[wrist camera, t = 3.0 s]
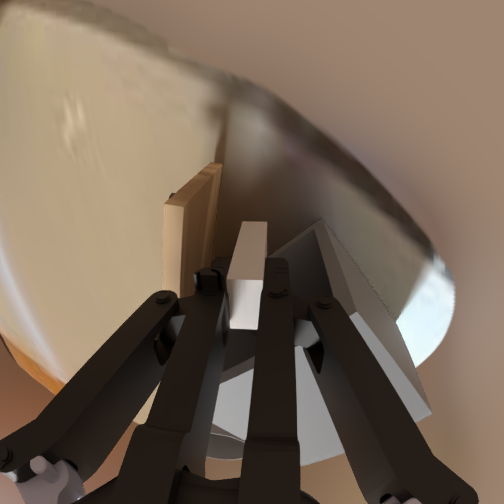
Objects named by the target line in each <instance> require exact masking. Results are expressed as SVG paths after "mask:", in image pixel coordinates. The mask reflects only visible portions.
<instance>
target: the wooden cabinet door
mask: <svg viewBox="0 0 504 504" xmlns="http://www.w3.org/2000/svg"><path fill="white" fill-rule="evenodd" d="M222 168H223V164H219V163H212V162H211V163H210V164H208V165H207V166H206V167H205V168H204V169H203V170H201V171H200V172H199V173H198V174H197V175H196V176H194V177H193V178H192V179H191V180H190V181H189V182H188V183H186V184H185V185H184V186H183V187H182V188H181V189H180V190H179V191H177V192H176V193H172V194H171V195H170V197H169V200H168V201H166V202H165V203H164V210H163V241H162V290H171V291H173V292H175V293H176V294H177V296H178V298H183V297H188V296H192V295H194V293H195V291H196V290H195V283H194V276H193V274H194V273H195V272H196V271H198V270H199V269H202V268H207V267H210V266H211V260H212V250H213V241H214V232H215V223H216V215H217V207H218V198H219V191H220V183H221V175H222Z"/></svg>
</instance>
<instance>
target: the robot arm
mask: <svg viewBox="0 0 504 504" xmlns="http://www.w3.org/2000/svg"><path fill="white" fill-rule="evenodd" d="M193 276H194V283H195V290H196V291H195V293H194V295H192V296H188V297H183V298H178V296H177V294H176V293H175V292H173V291H171V290H161V291H158V292H155V293H154V294H152V295H151V296H150V297H149V298H148V299H147V300H146V301H145V302H144V303H143V304H142V305H141V306H140V307H139V308H138V309H137V310H136V311H135V312H134V313H133V314H132V315H131V316H130V317H129V318H128V319H127V320H126V321H125V322H124V323H123V324H122V325H121V326H120V327H119V328H118V329H117V331H116V332H115V333H114V334H113V335H112V336H111V337H110V338H109V339H108V340H107V341H106V342H105V343H104V344H103V345H102V346H101V347H100V348H99V349H98V350H97V352H96V353H95V354H94V355H93V356H92V357H91V358H90V359H89V360H88V361H87V362H86V363H85V364H84V365H83V367H82V368H81V369H80V370H79V371H78V372H77V373H76V374H75V375H74V376H73V377H72V378H71V380H70V381H69V382H68V383H67V384H66V385H65V386H64V387H63V388H62V390H61V391H60V392H59V393H58V394H57V395H56V396H55V397H54V399H53V400H52V401H51V402H50V403H49V404H48V405H47V406H46V408H45V409H44V410H43V411H42V412H41V413H40V415H39V416H38V417H37V418H36V419H35V420H33V421H31V422H30V423H28V424H27V425H25V426H23V427H22V428H20V429H18V430H17V431H15V432H13V433H12V434H10V435H8V436H7V437H5V438H4V439H2V440H0V472H1V473H3V474H4V475H5V476H7V477H8V478H10V479H11V480H13V482H15V484H16V486H17V487H18V489H19V492H20V494H21V495H22V498H23V499H24V501H25V503H26V504H320V503H319V502H318V501H317V500H315V499H314V498H313V497H311V496H310V495H309V494H307V493H305V492H304V491H302V490H300V443H299V440H298V435H297V392H296V364H295V345H298V346H302V347H303V351H304V354H305V356H306V359H307V361H308V363H309V366H310V368H311V371H312V373H313V375H314V378H315V380H316V383H317V385H318V388H319V390H320V392H321V395H322V397H323V400H324V402H325V404H326V407H327V409H328V412H329V414H330V417H331V419H332V421H333V424H334V426H335V429H336V431H337V434H338V436H339V439H340V441H341V444H342V446H343V448H344V451H345V453H346V456H347V458H348V461H349V463H350V466H351V468H352V471H353V473H354V476H355V478H356V480H357V483H358V486H359V488H360V490H361V492H362V494H363V496H364V498H365V500H366V501H367V503H368V504H478V502H479V500H478V496H477V493H476V491H475V490H474V489H473V488H472V487H471V486H469V485H468V484H467V483H466V482H465V481H464V480H462V479H461V478H460V477H459V476H458V475H456V474H455V473H454V472H453V471H451V470H450V469H449V468H448V467H447V466H446V465H444V464H443V463H442V462H441V461H440V460H438V459H437V458H436V457H435V456H434V455H433V454H432V452H431V450H430V448H429V446H428V445H427V443H426V441H425V439H424V438H423V436H422V434H421V432H420V431H419V429H418V427H417V425H416V424H415V422H414V420H413V418H412V417H411V415H410V413H409V412H408V410H407V408H406V406H405V405H404V403H403V401H402V400H401V398H400V396H399V395H398V393H397V391H396V390H395V388H394V387H393V385H392V383H391V382H390V380H389V378H388V377H387V375H386V374H385V372H384V370H383V369H382V367H381V366H380V364H379V362H378V361H377V359H376V358H375V356H374V354H373V353H372V351H371V350H370V348H369V347H368V345H367V343H366V342H365V340H364V339H363V337H362V336H361V334H360V333H359V331H358V330H357V328H356V326H355V325H354V323H353V322H352V320H351V319H350V317H349V316H348V314H347V313H346V311H345V310H344V308H343V307H342V305H341V304H340V302H339V301H338V300H337V299H336V298H335V297H333V296H331V295H326V294H318V295H315V296H313V297H311V298H310V299H309V301H306V300H302V299H299V298H297V297H295V296H294V295H293V294H292V293H291V290H290V278H289V264H288V262H287V261H286V259H285V258H267V222H247V221H243V222H242V225H241V229H240V232H239V236H238V239H237V243H236V246H235V250H234V253H233V257H232V258H231V257H217V258H216V259H215V260H214V261H213V262H212V264H211V266H210V267H207V268H202V269H199V270H198V271H196V272H195V273H194V274H193ZM229 322H230V328H231V329H254V330H257V339H256V350H255V360H254V370H253V380H252V390H251V400H250V410H249V420H248V429H247V437H246V439H245V443H244V450H243V459H242V468H241V477H240V478H232V479H223V480H209V479H206V478H205V459H206V454H207V449H208V444H209V438H210V433H211V428H212V422H213V417H214V412H215V406H216V401H217V396H218V391H219V385H220V380H221V375H222V370H223V364H224V359H225V354H226V349H227V344H228V338H229V331H228V327H229ZM160 381H161V382H160ZM159 382H160V384H159ZM158 384H159V387H158V390H157V393H156V395H155V398H154V401H153V404H152V407H151V410H150V412H149V415H148V418H147V420H146V422H145V423H144V424H140V425H138V426H137V427H136V428H135V430H134V432H133V434H132V437H131V440H130V442H129V445H128V448H127V451H126V454H125V457H124V460H123V463H122V466H121V469H120V471H119V474H118V476H117V477H115V478H114V479H112V480H111V481H109V482H107V483H106V484H104V485H103V486H101V487H99V488H97V489H96V490H94V491H93V492H91V493H89V494H87V495H86V496H85V490H84V488H83V482H85V481H86V480H88V479H89V478H90V477H91V476H92V475H93V474H94V473H95V472H96V471H97V470H98V468H99V467H100V466H101V465H102V463H103V462H104V461H105V459H106V458H107V456H108V455H109V454H110V452H111V451H112V449H113V448H114V446H115V445H116V444H117V442H118V441H119V439H120V438H121V436H122V435H123V434H124V432H125V431H126V429H127V428H128V426H129V425H130V423H131V422H132V421H133V419H134V418H135V417H136V415H137V414H138V412H139V411H140V409H141V408H142V407H143V405H144V404H145V402H146V401H147V399H148V398H149V397H150V395H151V394H152V392H153V391H154V389H155V388H156V387H157V385H158Z"/></svg>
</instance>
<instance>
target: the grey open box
mask: <svg viewBox="0 0 504 504" xmlns="http://www.w3.org/2000/svg"><path fill="white" fill-rule="evenodd" d="M267 258H285V259H286V261H287V262H288V264H289V278H290V290H291V293H292V294H293V295H294V296H295V297H297V298H299V299H302V300H306V301H309V299H310V298H311V297H313V296H315V295H318V294H326V295H331V296H333V297H335V298H336V299H337V300H338V301H339V302H340V304H341V305H342V307H343V308H344V310H345V311H346V313H347V314H348V316H349V317H350V319H351V320H352V322H353V323H354V325H355V326H356V328H357V330H358V331H359V333H360V334H361V336H362V337H363V339H364V340H365V342H366V343H367V345H368V347H369V348H370V350H371V351H372V353H373V354H374V356H375V358H376V359H377V361H378V362H379V364H380V366H381V367H382V369H383V370H384V372H385V374H386V375H387V377H388V378H389V380H390V382H391V383H392V385H393V387H394V388H395V390H396V391H397V393H398V395H399V396H400V398H401V400H402V401H403V403H404V405H405V406H406V408H407V410H408V412H409V413H410V415H411V417H412V418H413V420H414V422H415V423H416V422H418V421H420V420H422V419H424V418H426V417H428V416H429V415H431V414H432V411H431V408H430V406H429V403H428V400H427V397H426V394H425V392H424V389H423V386H422V383H421V381H420V378H419V376H418V373H417V371H416V368H415V366H414V363H413V361H412V358H411V356H410V354H409V351H408V349H407V347H406V344H405V342H404V340H403V337H402V335H401V333H400V331H399V328H398V326H397V324H396V322H395V320H394V319H393V317H392V316H391V314H390V313H389V311H388V310H387V308H386V307H385V305H384V304H383V302H382V301H381V299H380V298H379V296H378V295H377V293H376V292H375V290H374V289H373V287H372V286H371V285H370V283H369V282H368V280H367V279H366V277H365V276H364V275H363V273H362V272H361V270H360V269H359V267H358V266H357V265H356V263H355V262H354V261H353V259H352V258H351V256H350V255H349V254H348V252H347V251H346V250H345V248H344V247H343V245H342V244H341V243H340V241H339V240H338V239H337V237H336V236H335V235H334V233H333V232H332V231H331V230H330V228H329V227H328V226H327V224H326V223H325V222H324V220H323V219H322V218H321V219H319V220H318V221H317V222H315V223H314V224H312V225H311V226H310V227H308V228H307V229H306V230H304V231H303V232H301V233H300V234H299V235H297V236H296V237H295V238H293V239H292V240H290V241H289V242H288V243H286V244H285V245H283V246H282V247H281V248H279V249H278V250H277V251H275V252H274V253H272V254H271V255H270V256H268V257H267ZM228 331H229V338H228V344H227V349H226V354H225V359H224V364H223V370H222V375H221V380H220V385H219V391H218V396H217V401H216V406H215V412H214V417H213V422H212V423H213V424H215V425H217V426H218V427H220V428H222V429H224V430H226V431H228V432H229V433H231V434H233V435H235V436H237V437H239V438H241V439H243V440H245V439H246V437H247V429H248V420H249V410H250V400H251V390H252V380H253V370H254V360H255V350H256V339H257V330H254V329H231V328H230V322H229V327H228ZM295 364H296V392H297V435H298V440H299V443H300V465H301V466H304V465H307V464H311V463H314V462H318V461H321V460H325V459H328V458H331V457H334V456H337V455H340V454H343V453H345V451H344V448H343V446H342V444H341V441H340V439H339V436H338V434H337V431H336V429H335V426H334V424H333V421H332V419H331V417H330V414H329V412H328V409H327V407H326V404H325V402H324V400H323V397H322V395H321V392H320V390H319V388H318V385H317V383H316V380H315V378H314V375H313V373H312V371H311V368H310V366H309V363H308V361H307V359H306V356H305V354H304V351H303V347H302V346H298V345H295Z"/></svg>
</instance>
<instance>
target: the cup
mask: <svg viewBox="0 0 504 504" xmlns="http://www.w3.org/2000/svg"><path fill="white" fill-rule="evenodd" d="M244 443H245V440H243V439H241V438H239V437H237V436H235V435H233V434H231V433H229V432H228V431H226V430H224V429H222V428H220V427H218V426H217V425H215V424H213V423H212V428H211V433H210V438H209V444H208V449H207V454H206V457H209V458H214V459H219V460H237V459H242V458H243V450H244Z"/></svg>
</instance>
